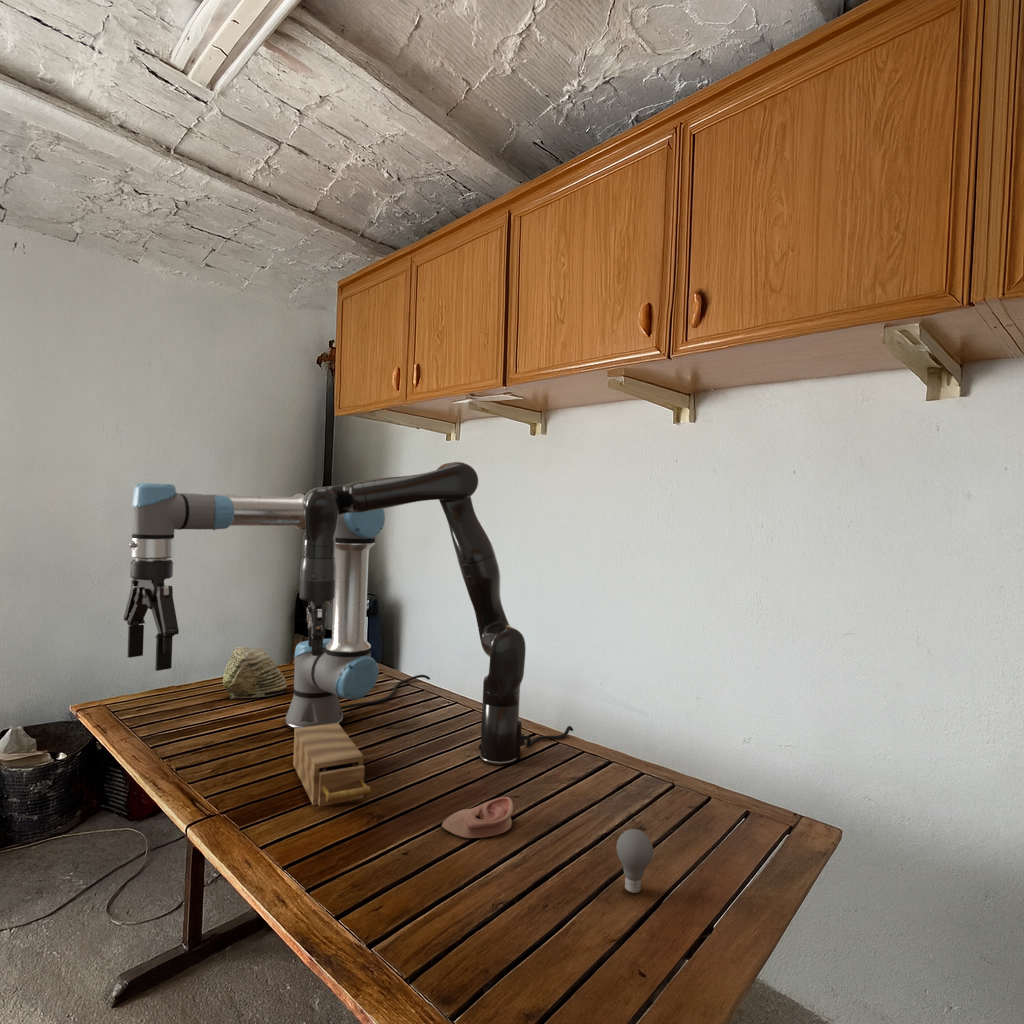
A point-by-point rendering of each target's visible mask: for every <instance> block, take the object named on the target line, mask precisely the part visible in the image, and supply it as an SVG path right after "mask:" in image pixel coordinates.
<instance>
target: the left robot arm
mask: <svg viewBox="0 0 1024 1024" xmlns="http://www.w3.org/2000/svg"><path fill="white" fill-rule="evenodd" d="M306 494H307V493H296V494H294V495H293V496H276V495H275V496H274V495H273V496H271V495H245V494H244V495H243V494H218V493H217V494H216V493H215V494H214V493H213V494H211V493H189V492H187V493H185V492H184V493H183V492H177V489H176V486H175V485H174V484H172V483H152V482H149V483H148V482H141V483H140V482H139V483H137V484H136V485H135V486H134V488H133V494H132V502H131V508H132V509H131V510H132V511H131V512H132V513H131V514H132V515H131V518H132V519H131V520H132V521H131V543H129V544H128V547H129V548H130V549H131V553H130V556H131V558H133V559H132V560H131V561H130V573H129V574H130V578H131V581H130V590H129V591H130V592H129V595H128V599H127V603H126V607H125V610H124V615H123V621H124V622H126V624H127V626H128V629H127V630H128V631H127V658H137V657H143V656H144V639H145V638H144V635H145V634H144V632H145V625H144V624H146V621H145V617H146V615H147V612H148V610H151V613H152V616H153V620H154V623H155V626H156V630H157V634H156V635H155V637H154V638H155V639H156V640H155V665H154V666H155V669H154V670H155V671H156V672H159V671H164V670H171V669H172V664H173V663H172V661H173V637H175V636H176V635H179V632H180V631H179V629H180V628H179V625H178V619H177V613H176V607H175V602H174V591H173V585H165V580H167V579H171V578H172V577H173V575H174V561H173V560H172V558H173V557H174V555H175V530H177V531H178V530H180V531H181V530H213V531H215V530H225V529H228V528H230V526H231V527H234V526H237V527H238V526H239V527H243V526H245V527H247V526H249V527H250V526H251V527H252V526H257V527H259V526H261V527H262V526H268V527H269V526H276V527H277V526H281V527H284V526H285V527H288V526H289V527H290V526H291V527H293V528H294V529H296V530H305V509H304V507H303V499H304V497H305V495H306ZM384 509H385V508H384ZM384 509H379V510H373V511H367V512H359V513H354V512H351V513H345V514H340V515H338V520H337V527H336V533H335V540H336V545H335V546H336V547H335V563H336V579H335V598H334V599H332V600H333V601H332V602H333V603H332V625H331V626H332V627H331V628H332V629H331V638H323V654H322V655H321V656H313V655H312V647H309V645H308V640H304V641H300V642H299V643H297V645H296V646H295V650H294V655H293V657H294V672H293V673H294V674H293V695H292V696H293V697H292V699H291V702H290V704H289V708H288V710H286V712H285V726H286V728H287V729H289V730H291V731H294V729H295V728H302V727H310V726H317V725H325V724H332V723H339V725H340V726H341V725H342V723H343V722H344V714H343V710H345V709H349V708H356V707H362V706H369V705H375V704H380V703H383V702H386V701H387V700H389V699H392V697H393V696H394V695H395V694H396V692H397V689H398V688H399V687H400V686H401V685H403V684H405V683H408V682H410V681H413V680H415V679H420V678H425V679H426V680H429V681H430V680H431V677H430V676H428V675H426V674H417V675H414V676H411V677H408V678H406V679H403V680H401V681H399V682H398V683H397V684H395V686H394V687H393V689H392V692H391V693H390V694H389V695H387V696H385V697H383V698H379V699H375V700H371V701H364V702H356V703H351V704H345V705H341V702H340V699H339V698H341V699H342V700H343V699H344V700H348V701H349V700H350V701H357V700H360V699H362V698H364V697H365V696H367V695H368V694H370V692H371V690H372V689H374V687H375V685H376V683H377V682H378V678H379V674H380V672H379V671H380V670H379V669H380V668H379V665H378V662H376V660H375V659H374V657H372V656H371V652H372V649H371V648H372V644H371V643H370V642H368V640H367V639H366V631H367V607H368V606H367V605H368V604H367V602H368V582H369V581H368V579H369V555H370V550H371V548H372V547H374V545H376V536H378V535H380V533H381V530H383V528H384V526H385V522H386V513H385V510H384Z"/></svg>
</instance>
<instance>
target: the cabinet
mask: <svg viewBox="0 0 1024 1024" xmlns="http://www.w3.org/2000/svg"><path fill="white" fill-rule="evenodd" d="M354 762H355V763H356V766H360V765H363V766H364V755H363V753H362V752H361V751H360V750H359V748H358V747H357V746H356V744H355V743H354V742H353V740H352V739H351V738H350V736H349V735H348V734H347V732H346V731H345V730H344V729H343V727H342V725H341V724H340V725H339V723H332V724H325V725H317V726H310V727H302V728H295V729H294V730H293V759H292V766H293V768H294V769H295V772H296V774H297V776H298V777H299V780H300V782H301V784H302V786H303V788H304V790H305V792H306V795H307V796H308V799H309V800H310V802H311V805H312V806H317V805H318V796H319V792H318V791H319V768H324V767H330V766H336V765H342V764H348V763H354ZM318 806H319V805H318Z"/></svg>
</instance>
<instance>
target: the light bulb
mask: <svg viewBox="0 0 1024 1024" xmlns="http://www.w3.org/2000/svg"><path fill="white" fill-rule="evenodd" d="M615 849H616V854H617V857H618V859H619V861H620V863H621V865H622V867H623V873H624V874H623V875H624V876H625V878H624V888H625V890H627V891H628V892H630V893H634V894H635V893H639V892H640V891H641V889H642V887H641V886H642V879H643V877H644V875H645V871H646V868H647V867H648V866H649V864H650V863H651V861H652V859H653V855H654V847H653V843H652V841H651V838H649V836H648V835H647V834H646V833H645V832H643V831H642V830H641V829H636V828H629V829H627V830H625V831H623V832H622V833H621V834H620V835H619V837H618V839H617V841H616V847H615Z"/></svg>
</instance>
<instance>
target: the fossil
mask: <svg viewBox="0 0 1024 1024" xmlns="http://www.w3.org/2000/svg"><path fill="white" fill-rule="evenodd" d="M222 676H223V677H222V685H223V687H224V688H225V690H226V691H228V693H229V698H230V699H250V698H264V697H271V696H275V695H281V694H284V693H285V691H286V689H287V687H288V686H287V680H286V678H285V676H284V674H283V673H282V672H281V669H279V668H278V667H277V665H276V663H275V662H274V660H273V659H272V658H271V657H270V656H269V655H268V654H267V653H266V652H265V650H264V649H263V648H260V647H258V648H251V647H247V646H246V647H245V646H238V647H237V648H236V649H235V650H233V651H232V653H231V656H230V657H229V659H228V660H227V663H226V666H225V668H224V671H223V675H222Z"/></svg>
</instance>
